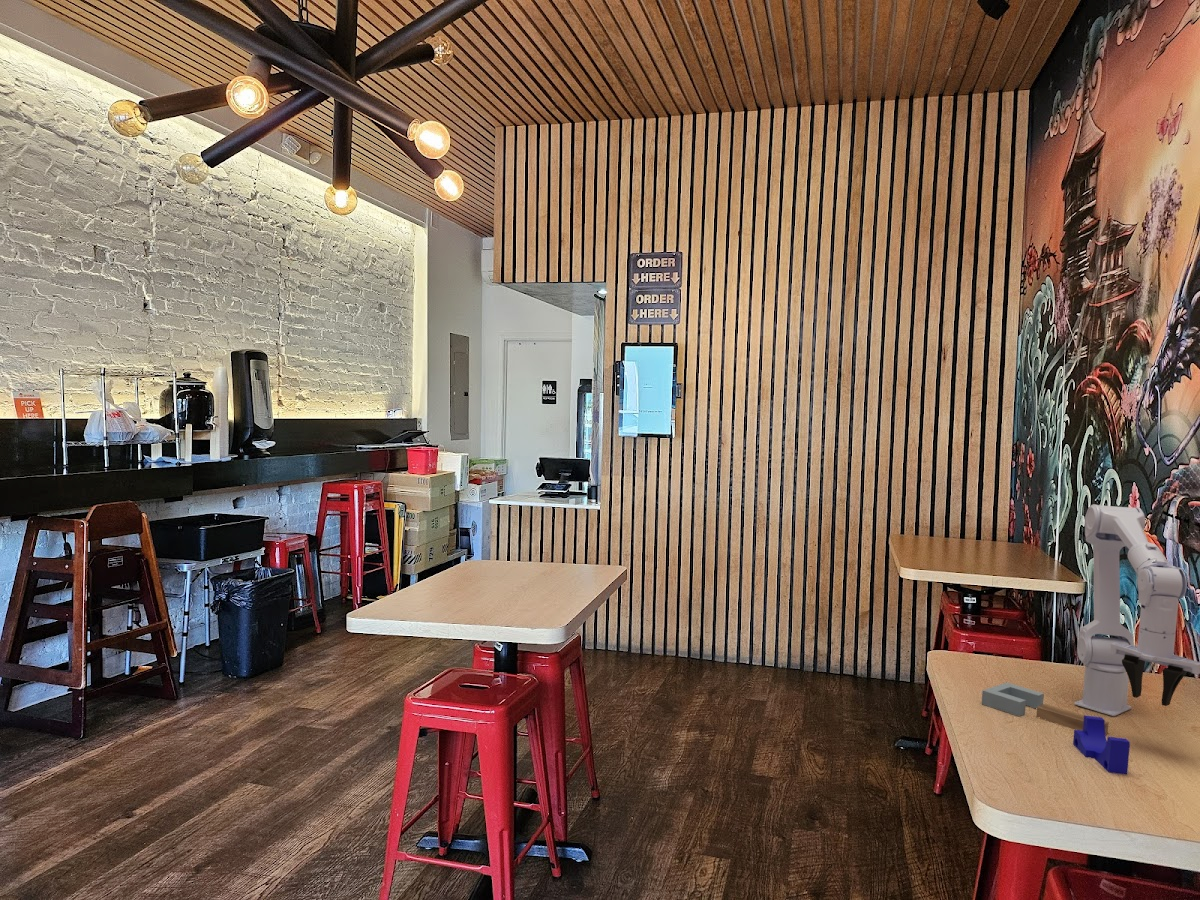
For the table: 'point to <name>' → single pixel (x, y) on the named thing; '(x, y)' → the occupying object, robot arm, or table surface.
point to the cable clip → (1102, 745)
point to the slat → (1063, 717)
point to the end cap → (1011, 698)
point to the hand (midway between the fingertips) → (1150, 700)
